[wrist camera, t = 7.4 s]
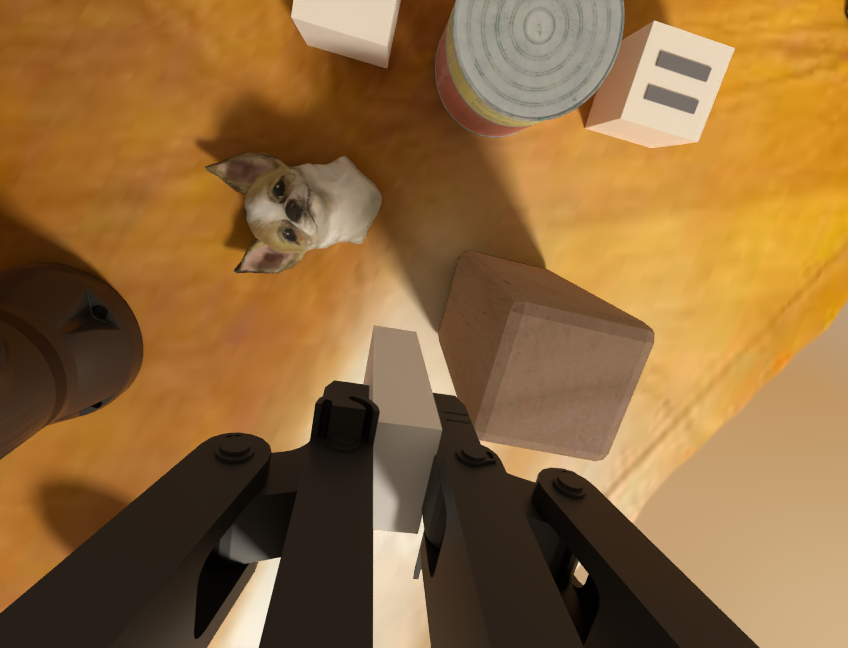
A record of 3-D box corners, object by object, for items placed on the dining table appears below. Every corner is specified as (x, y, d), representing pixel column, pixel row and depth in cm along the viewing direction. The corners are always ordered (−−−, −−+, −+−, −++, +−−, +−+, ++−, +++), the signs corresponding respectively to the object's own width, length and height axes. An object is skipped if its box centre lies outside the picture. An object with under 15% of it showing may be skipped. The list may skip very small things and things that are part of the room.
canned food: (583, 68, 41) (659, 25, 30) (495, 164, 43) (533, 157, 32) (499, -37, 38) (546, -130, 27) (408, 71, 40) (415, 26, 29)
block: (459, 247, 45) (511, 294, 26) (552, 269, 46) (667, 330, 27) (434, 339, 48) (465, 444, 29) (523, 358, 49) (609, 469, 30)
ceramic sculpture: (391, 266, 36) (209, 293, 37) (396, 250, 45) (247, 273, 45) (367, 123, 33) (168, 155, 34) (377, 135, 41) (217, 160, 42)
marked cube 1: (584, 128, 43) (621, 117, 36) (610, 46, 41) (655, 19, 34) (650, 148, 44) (699, 141, 37) (679, 69, 42) (736, 47, 35)
